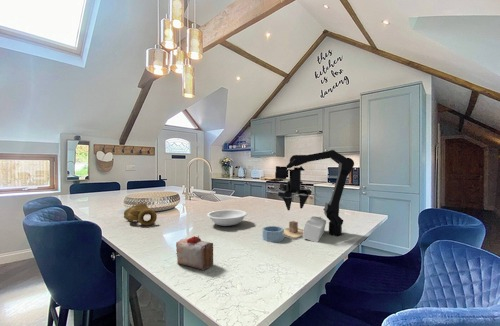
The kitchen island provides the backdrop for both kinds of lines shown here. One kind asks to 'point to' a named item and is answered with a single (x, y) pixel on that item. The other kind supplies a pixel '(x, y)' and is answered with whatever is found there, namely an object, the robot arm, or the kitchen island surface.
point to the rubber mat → (292, 238)
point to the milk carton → (314, 228)
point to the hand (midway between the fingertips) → (295, 209)
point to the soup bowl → (227, 217)
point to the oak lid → (293, 230)
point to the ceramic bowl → (273, 234)
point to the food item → (194, 253)
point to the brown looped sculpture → (140, 214)
